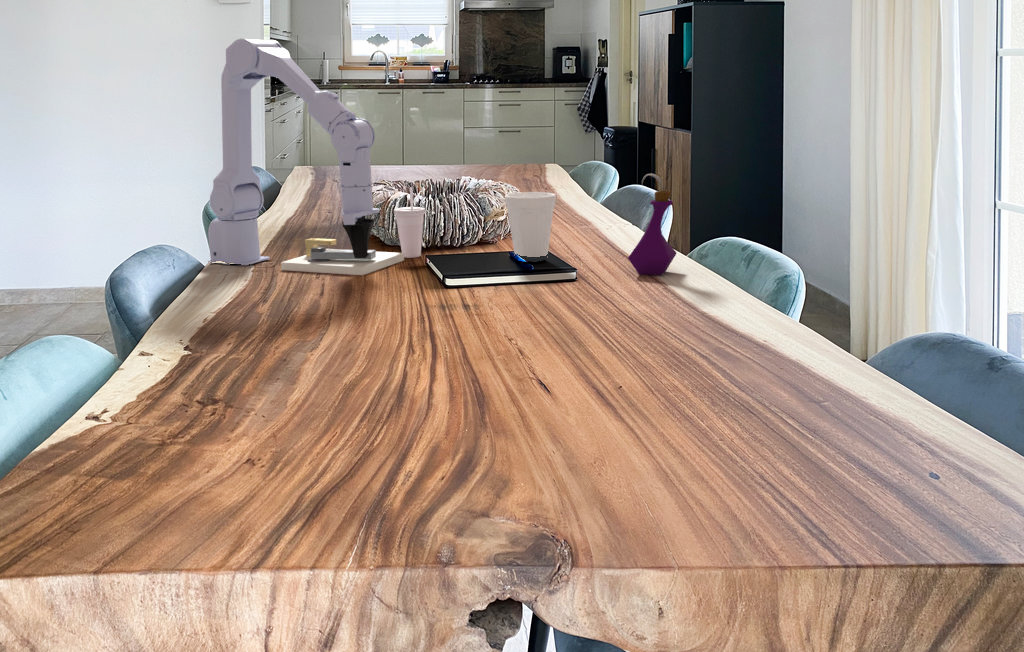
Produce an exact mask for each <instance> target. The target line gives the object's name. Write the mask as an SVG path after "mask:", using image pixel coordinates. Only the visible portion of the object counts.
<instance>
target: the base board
mask: <svg viewBox="0 0 1024 652" xmlns="http://www.w3.org/2000/svg"><path fill="white" fill-rule="evenodd" d="M337 250H340V249H337ZM403 261H405V257H404V253H402V252H395V251H393V252H391V251H389V252H388V251H376V257H375V258H373V259H372V260H341V259H311V256H306V254H304V255H302V256H298V257H295V258H291V259H288V260H284V261H281V262H280V266H281V267H280V269H281V271H288V272H289V271H291V272H292V271H293V272H306V273H307V272H308V273H320V274H321V273H324V274H337V275H338V274H339V275H354V276H365V275H367V274H371V273H373V272H375V271H378V270H381V269H385V268H387V267H389V266H392V265H395V264H399V263H400V262H403Z"/></svg>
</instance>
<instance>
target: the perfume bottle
mask: <svg viewBox="0 0 1024 652" xmlns="http://www.w3.org/2000/svg"><path fill="white" fill-rule="evenodd" d="M648 176H650V177H653V178H654V179H656V180H657V181H658V183H659V184H660V186H661V190H657V191H655V192H654V194H653V196H654V199H652V200H650V205H652V208H653V211H652V215H651V218H650V221H649V223H648V225H647V227H646V229H645V232H644V234H643V235H642V236H641V238H640V240H639V241H638V242H637V244H636V246H635V247H634V248H633V250H632V252H631V253H630V254H629V255H628V258H627V259H628V260H629V262H630V263H631V265H632V267H633V268H634V269H635V271H636V272H637V274H638V275H643V276H663V275H664V274H665V273H666V272H667V270H668V268H669V267H670V265H671V263H672V262H673V260H674V259H675V257H676V256H677V251H676V250H675V249H674V248H673V247H672V246H671V245H670V243H669V242H668V241H667V240H666V238H665V237H664V235H663V234H662V222H663V218H664V215H665V212H666V211H667V210H668V208H669V207H670V206H672V205H673V204H674V202H673V200H671V199H670V197H671V193H672V192H671V191H670V190H665V189H664V188H663V183H662V180H661V178H660V177H659V176H658V175H656V174H654V173H646V174H645V175H644V176H643V178H642V180H641V185H643V183H644V180H645V179H646V178H647V177H648Z"/></svg>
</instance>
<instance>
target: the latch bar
mask: <svg viewBox="0 0 1024 652" xmlns="http://www.w3.org/2000/svg"><path fill="white" fill-rule="evenodd" d="M376 252H377V251H376V249H368V252H367V257H366V258H355V257H354V254H353V250H352V249H339V250H337V249H336V248H334V249H333V248H326V247H325V246H319V247H313V248H311V259H341V260H372V259H373V258H375V257H376Z"/></svg>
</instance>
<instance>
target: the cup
mask: <svg viewBox="0 0 1024 652" xmlns="http://www.w3.org/2000/svg"><path fill="white" fill-rule="evenodd" d="M504 199H505V200H504V201H505V202H504V203H505V206H506V210H507V216H508V223H509V229H510V233H511V234H510V235H511V241H512V246H513V253H515V254H518V255H520V256H527V257H540V256H546V255H547V254H549V246H550V238H551V230H552V222H553V214H554V208H555V206H556V201H557V200H556V199H557V194H555V193H553V192H544V191H523V192H520V191H519V192H512V193H507V194H505V195H504ZM515 254H514V255H515Z"/></svg>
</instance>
